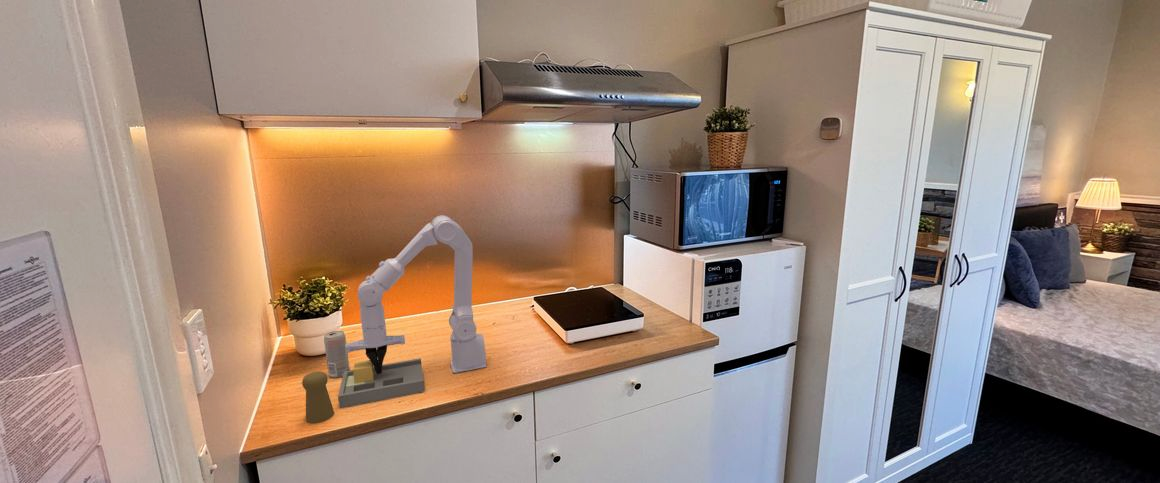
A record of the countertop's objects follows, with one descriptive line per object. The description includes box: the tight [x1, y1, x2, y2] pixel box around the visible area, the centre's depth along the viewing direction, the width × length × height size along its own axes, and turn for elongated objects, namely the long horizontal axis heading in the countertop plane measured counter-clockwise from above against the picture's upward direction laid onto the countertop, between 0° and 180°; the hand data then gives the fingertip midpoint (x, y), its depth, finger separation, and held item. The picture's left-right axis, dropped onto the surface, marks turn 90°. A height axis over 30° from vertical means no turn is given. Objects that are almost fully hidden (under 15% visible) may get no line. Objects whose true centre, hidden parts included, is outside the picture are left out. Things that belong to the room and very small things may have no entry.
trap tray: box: [337, 357, 425, 409], centre depth 125 cm, size 20×14×3 cm
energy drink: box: [323, 330, 351, 379], centre depth 131 cm, size 5×5×12 cm
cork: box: [301, 370, 335, 425], centre depth 111 cm, size 6×6×11 cm
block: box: [352, 359, 374, 384], centre depth 125 cm, size 4×4×4 cm
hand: (379, 372), depth 127 cm, fingers closed
